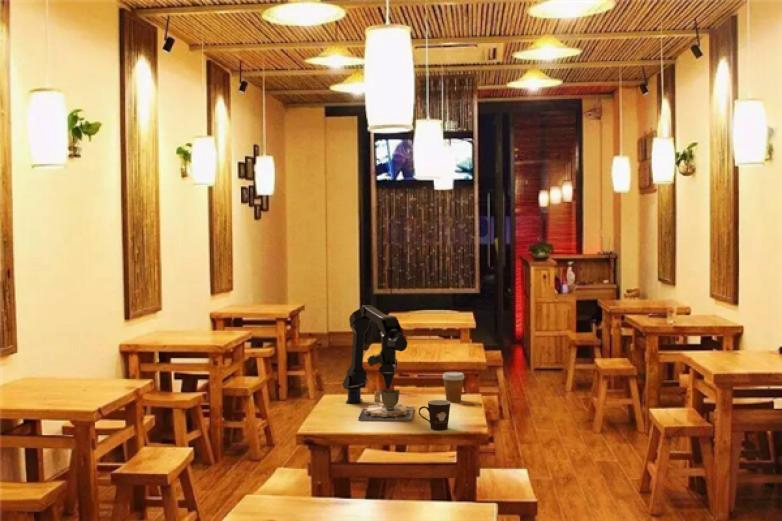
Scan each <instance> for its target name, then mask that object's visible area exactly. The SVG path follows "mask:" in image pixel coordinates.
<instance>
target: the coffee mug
mask: <svg viewBox="0 0 782 521" xmlns="http://www.w3.org/2000/svg"><path fill="white" fill-rule="evenodd" d="M451 404H452V402H450V401H446V399H433V400H429V401H427V406H421V407H419V409H418V414H419V417H421V418H422V419H423V420H425V421H427V422H429V425H430V430H432V431H437V432H438V431H448V429H449V418H450V410H451ZM423 409H426V410H427V412H428V416H429V419H428V418H426V417H424V416H423V415H422V414H421V410H423Z"/></svg>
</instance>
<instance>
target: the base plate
mask: <svg viewBox="0 0 782 521" xmlns="http://www.w3.org/2000/svg"><path fill="white" fill-rule="evenodd" d="M367 406H368V405H364V406H363V408H362V410H361V412H360V413H359V415H358V417H357V419H358V421H359V422H412V421H413V416H414V411H415V407H414V406H408V407H409V409H410V412H407V414H405V415H400V416H393V417H380V416H372V415H370V414H366V413H365V411H364V408H367Z"/></svg>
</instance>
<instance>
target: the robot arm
mask: <svg viewBox="0 0 782 521" xmlns="http://www.w3.org/2000/svg"><path fill="white" fill-rule="evenodd" d="M348 320H349V327H350V329H351V331H352V346H351V348H352V349H351V350H352V351H351V364H350V366H349V368H348V369H347V371H346V376H345V378H344V379H343V381H342V388H343V389H345V390H347V399H346V401H345V404H362V402H363V399H362V393H361V392H362V389H364V388H366V385H367V376H368V375H367V374H368V372H367V370H365V368H364V366H363V365H364V348H365V334H366V333H367V331H368V330H369V327H370V323H371V321H373V322H374V323H375V324H377V328H378V329H379V330H380V332H379V336H381V337H380V339H381V342H380V344H381V345H380V346H381V348H380V349H381V350H380V352H379V353H377V354H372V355H370V356H369V357H367V359H366V360H367V364H368V365H369V366H368V367H373V366H374V365H377V364H379V368H378V373H379V374H380V376H383V380H384V385H385V389H386V390H387V389H389V390H390V389H391V386H392V382H393V380H394V376H395V373H396V372H397V369H398V368H397V367H398V365H399V364H398V363H399V361H398V359H397V352H403V351H405V350H406V349H407V347H408V340H407V339H406V338H405V337H404V334H403V329H402V326H401V324H400V321H399V319H398V318H397V316H394V315H389V314H385V313H384V312H382V311H381V310H379V309H377V308H376V307H374V306H373V305H371V304H367V305H362V306H360V308H358V309H357V310H355V311H353V312H352V313H351V314H350V316H349V319H348Z"/></svg>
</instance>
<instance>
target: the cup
mask: <svg viewBox="0 0 782 521" xmlns="http://www.w3.org/2000/svg"><path fill="white" fill-rule="evenodd" d="M380 396H381V402H383V404H384V405H385V406H386V410H389V411H392V410H394V409H395V407H394V406H396V405H397V404H399V400H400V399H399V398H400V389H397V388H396V389H395V388H389V389H386V388H384V389H381V390H380Z"/></svg>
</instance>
